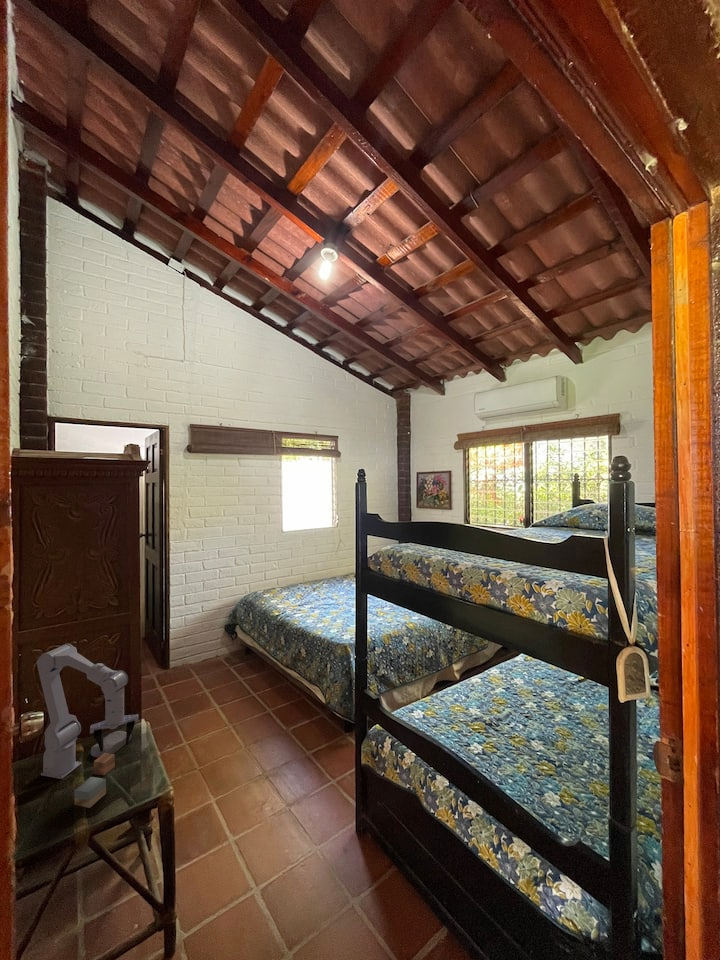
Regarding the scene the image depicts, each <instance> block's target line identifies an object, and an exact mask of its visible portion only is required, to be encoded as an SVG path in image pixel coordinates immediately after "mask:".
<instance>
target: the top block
mask: <svg viewBox="0 0 720 960" xmlns="http://www.w3.org/2000/svg"><path fill="white" fill-rule="evenodd" d="M106 784H107V779H106V778H101V777H95V776H90V777H89V778H87V779H86V780H85V781H83V782H82V783H81V784H80V785H79V786H78V787H77V788H75V789H74V794H73V795H74V799H75V798H77V799H83V800H91V799H92V798H93V797H95V796H96V795H97V794H98V793H99V792H100V791H101V790H102V789H103V788H105V787H106V788H107V785H106Z"/></svg>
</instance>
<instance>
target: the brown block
mask: <svg viewBox="0 0 720 960" xmlns="http://www.w3.org/2000/svg"><path fill="white" fill-rule="evenodd" d="M106 794H107V786H106V787H105V788H103V789H102V790H101V791H100V792H99V793H98V794H97V795H96V796H95V797H93V798H92V799H91V800H83V799H77V798H75V797H74V806H79V807H84V808H89V809H90V808H92V807H93V806H94V805H95V804H96V803H97V802H98V801H99V800H101V798H103V797H104V796H105V795H106Z"/></svg>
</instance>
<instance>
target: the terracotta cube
mask: <svg viewBox="0 0 720 960" xmlns="http://www.w3.org/2000/svg"><path fill="white" fill-rule="evenodd" d="M115 760H116V754H115V753H114V754H108V753H104V754H103V755H101V756H100V757H97V758H95V760H93V775H99V776H105V775H107V774H108V773H109V772H111V771H112V770H113V769H114V768H115V767H116V764H115V763H116V761H115Z"/></svg>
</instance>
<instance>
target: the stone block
mask: <svg viewBox="0 0 720 960" xmlns="http://www.w3.org/2000/svg"><path fill="white" fill-rule="evenodd" d="M131 740H132V733H131V734H130V737H129V742H130V741H131ZM103 743H104V748H103V752H100V748H99V745H98V743H97V742H96V744H94V745H93V746H91V748H90V755H91V756H92V757H94V758H99V757H100V756H101V755H103V754H104V753H108V754H114V755H115V754H116V753H117V752H118V751H119V750H121V749H122V748H123V747H124V746H127V745H126V731H123V730H117V731H114V732H111V733H109V734H107V735H106V736H103Z"/></svg>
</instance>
